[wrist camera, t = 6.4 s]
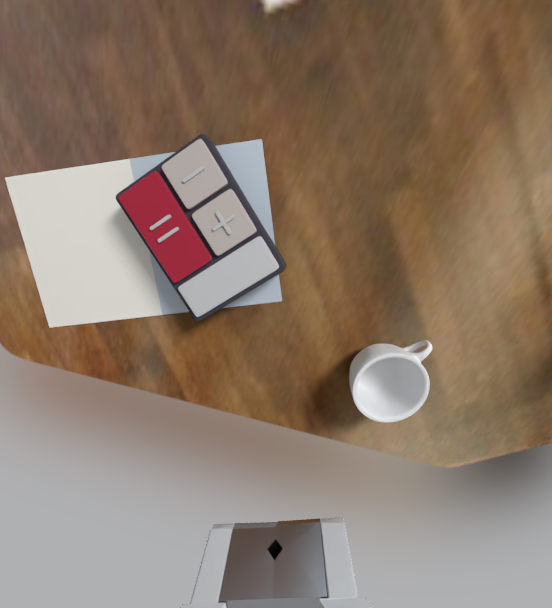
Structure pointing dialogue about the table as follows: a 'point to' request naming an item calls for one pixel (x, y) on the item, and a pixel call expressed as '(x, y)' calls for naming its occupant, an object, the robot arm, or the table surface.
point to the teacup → (389, 381)
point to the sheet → (114, 239)
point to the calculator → (201, 228)
